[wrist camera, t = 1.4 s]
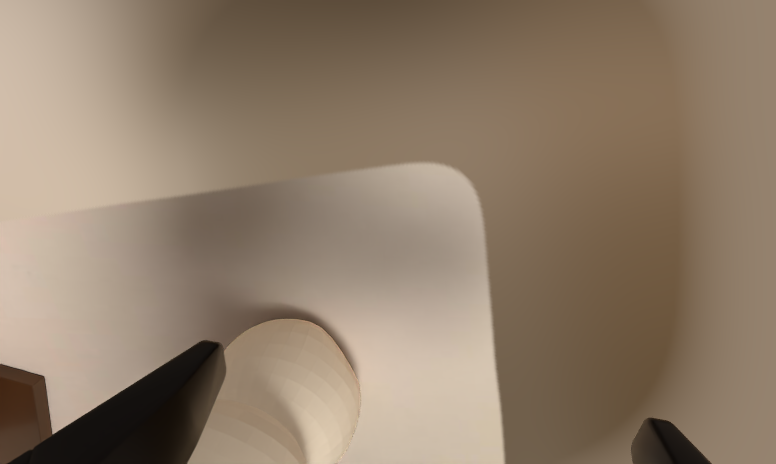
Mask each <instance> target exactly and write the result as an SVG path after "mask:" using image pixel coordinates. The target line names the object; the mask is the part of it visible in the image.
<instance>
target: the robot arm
mask: <svg viewBox="0 0 776 464" xmlns="http://www.w3.org/2000/svg"><path fill="white" fill-rule="evenodd" d="M225 376H226V362H225V356H224V350H223V346H222V344H221V343H219V342H214V341H208V340H203V341H201V342H199V343H197V344H196V345H194V346H192V347H191V348H189V349H188V350H186V351H185V352H183V353H181V354H180V355H178V356H177V357H175V358H173V359H172V360H170V361H169V362H167V363H166V364H164V365H162V366H161V367H159V368H158V369H156V370H154V371H153V372H151V373H150V374H148V375H147V376H145V377H143V378H142V379H140V380H139V381H137V382H135V383H134V384H132V385H131V386H129V387H128V388H126V389H124V390H123V391H121V392H120V393H118V394H116V395H115V396H113V397H112V398H110V399H109V400H107V401H105V402H104V403H102V404H101V405H99V406H97V407H96V408H94V409H93V410H91V411H90V412H88V413H86V414H85V415H83V416H82V417H80V418H78V419H77V420H75V421H74V422H72V423H71V424H69V425H67V426H66V427H64V428H63V429H61V430H59V431H58V432H56V433H55V434H53V435H52V436H50V437H48V438H47V439H45V440H44V441H42V442H40V443H39V444H37V445H36V446H35V447H34V448H33V450H32V449H29V450H28V451H26V452H24V453H23V454H21V455H20V456H18V457H16V458H15V459H13V460H12V461H10V462H9V463H7V464H187V463H188V461H189V459H190V457H191V455H192V453H193V451H194V449H195V448H196V446H197V444H198V441H199V439H200V437H201V435H202V432H203V430H204V427H205V425H206V423H207V420H208V418H209V415H210V413H211V411H212V408H213V406H214V404H215V401H216V399H217V396H218V394H219V392H220V389H221V387H222V384H223V382H224V379H225ZM631 454H632V461H633V464H711V462H710V461H708V460H707V458H706V457H705V456H704V455H703V454H702V453H701V452H700V451H699V450H698V449H697V448H696V447H695V446H694V445H693V444H692V443H691V442H690V441H689V440H688V439H687V438H686V437H685V436H684V435H683V434H682V433H681V432H680V431H679V430H678V428H677V427H675V426H674V425H673V424H672V423H671V422H669V421H666V420H661V419H656V418H647V419H646V420H645V421H644V422H643V424H642V426H641V428H640V429H639V431H638V433H637V435H636V436H635V438H634V440H633V442H632V447H631Z"/></svg>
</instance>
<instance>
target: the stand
mask: <svg viewBox="0 0 776 464" xmlns="http://www.w3.org/2000/svg"><path fill="white" fill-rule="evenodd" d="M50 436H52V432H51V425H50V417H49V410H48V403H47V395H46V388H45V381H44V377H43V376H39V375H36V374H32V373H28V372H25V371H21V370H18V369H14V368H11V367H7V366H4V365H0V464H7V463H9V462H10V461H12V460H13V459H15V458H16V457H18V456H20V455H21V454H23V453H24V452H26V451H28V450H29V449H32V450H33V448H34V447H35V446H36V445H37V444H39V443H40V442H42V441H44V440H45V439H47V438H48V437H50Z"/></svg>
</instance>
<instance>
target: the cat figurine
mask: <svg viewBox="0 0 776 464" xmlns="http://www.w3.org/2000/svg"><path fill="white" fill-rule="evenodd" d="M224 356H225V362H226V376H225V379H224V382H223V384H222V387H221V389H220V392H219V394H218V396H217V399H216V401H215V404H214V406H213V408H212V411H211V413H210V415H209V418H208V420H207V423H206V425H205V427H204V430H203V432H202V435H201V437H200V439H199V441H198V444H197V446H196V448H195V449H194V451H193V453H192V455H191V457H190V459H189V461H188V463H187V464H336V463H337V462H338V461H339V460H340V459H341V457H342V456H343V455H344V453H345V452H346V450H347V448H348V446H349V444H350V441H351V439H352V437H353V434H354V431H355V429H356V425H357V421H358V418H359V412H360V405H361V394H360V386H359V382H358V380H357V378H356V376H355V373H354V371H353V370H352V368H351V366H350V364H349V363H348V361H347V359H346V358H345V356H344V355H343V353H342V351H341V350H340V348H339V347H338V346H337V344H336V343H335V341H334V340H333V339H332V337H331V336H329V335H328V334H327V333H326V332H325V331H324V330H323V329H322V328H321V327H319V326H317V325H316V324H314V323H312V322H309V321H304V320H299V319H276V320H271V321H266V322H264V323H261V324H258V325H256V326H254V327H252V328H250V329H248V330H247V331H245V332H243V333H242V334H240V335H239V336H238V337H237V338H236V339H235V340H234V341H233V342H231V343H230V344H229V345H228V347H227V348H226V350H225V351H224Z"/></svg>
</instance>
